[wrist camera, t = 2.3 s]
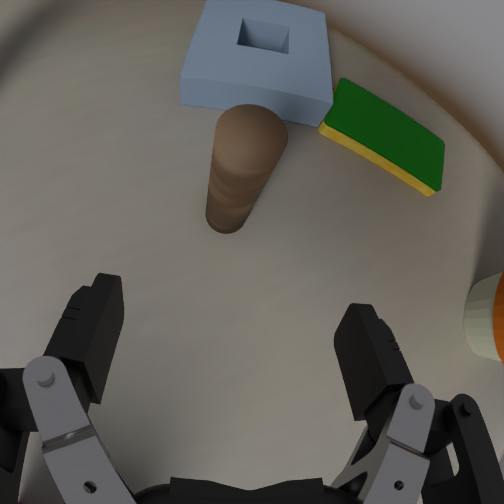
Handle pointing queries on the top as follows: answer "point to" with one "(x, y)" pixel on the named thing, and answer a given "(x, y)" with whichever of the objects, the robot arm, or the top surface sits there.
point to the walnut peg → (242, 163)
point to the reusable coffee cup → (486, 318)
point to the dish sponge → (385, 136)
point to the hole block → (260, 60)
